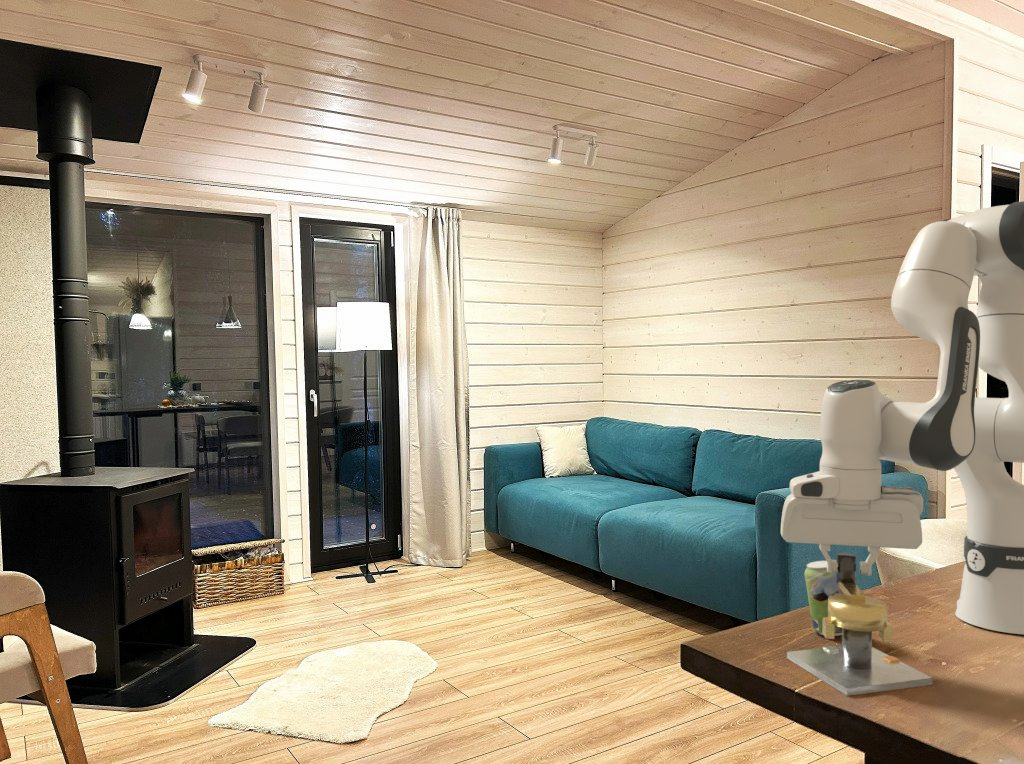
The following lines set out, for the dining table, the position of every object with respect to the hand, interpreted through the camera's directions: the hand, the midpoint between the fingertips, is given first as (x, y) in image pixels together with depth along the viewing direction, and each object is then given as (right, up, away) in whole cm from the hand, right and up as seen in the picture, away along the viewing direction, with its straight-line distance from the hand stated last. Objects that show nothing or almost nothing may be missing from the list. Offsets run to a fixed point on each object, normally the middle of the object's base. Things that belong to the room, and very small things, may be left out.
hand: (848, 573), depth 124 cm
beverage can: (0, -13, +10) cm, 16 cm away
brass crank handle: (-1, -8, -4) cm, 9 cm away
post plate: (-2, -13, -6) cm, 14 cm away
